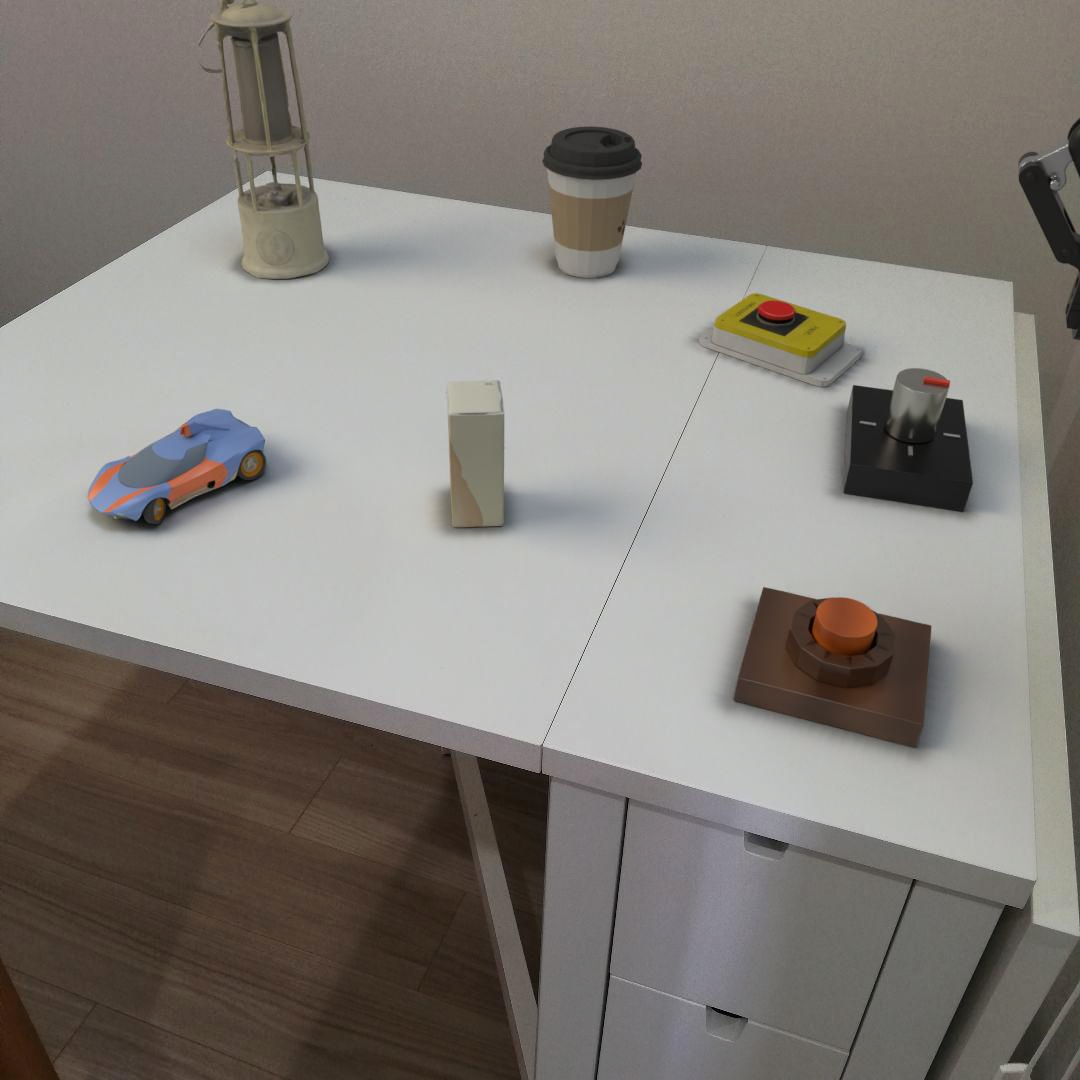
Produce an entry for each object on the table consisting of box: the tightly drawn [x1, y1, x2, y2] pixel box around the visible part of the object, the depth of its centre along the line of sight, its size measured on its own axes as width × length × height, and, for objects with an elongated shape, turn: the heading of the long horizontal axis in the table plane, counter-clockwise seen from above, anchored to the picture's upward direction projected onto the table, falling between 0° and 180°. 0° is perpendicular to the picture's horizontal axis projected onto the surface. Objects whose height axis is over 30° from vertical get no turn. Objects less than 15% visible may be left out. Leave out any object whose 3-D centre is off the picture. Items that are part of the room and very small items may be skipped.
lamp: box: [197, 0, 330, 280], centre depth 118 cm, size 10×13×30 cm
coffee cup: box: [541, 125, 643, 279], centre depth 123 cm, size 11×11×15 cm
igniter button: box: [812, 596, 878, 656], centre depth 71 cm, size 4×4×2 cm
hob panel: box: [842, 384, 974, 512], centre depth 95 cm, size 14×10×3 cm
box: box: [446, 379, 505, 528], centre depth 85 cm, size 5×4×11 cm
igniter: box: [733, 586, 933, 748], centre depth 73 cm, size 12×10×4 cm
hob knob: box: [884, 367, 951, 443], centre depth 92 cm, size 4×4×5 cm
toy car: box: [86, 408, 267, 525], centre depth 88 cm, size 8×15×5 cm, turn 138°
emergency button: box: [698, 292, 863, 388], centre depth 110 cm, size 9×4×15 cm
